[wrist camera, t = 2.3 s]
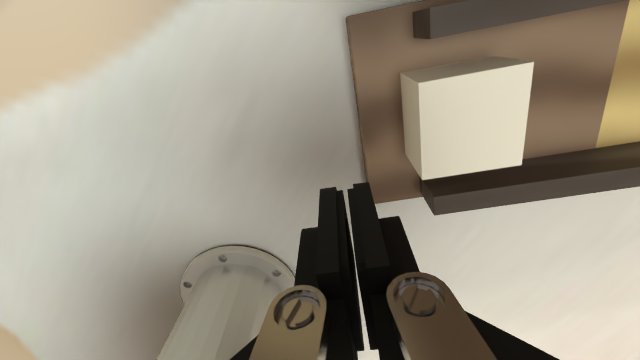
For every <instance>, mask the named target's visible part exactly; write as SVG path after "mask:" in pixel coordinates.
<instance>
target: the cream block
mask: <svg viewBox="0 0 640 360" xmlns="http://www.w3.org/2000/svg"><path fill="white" fill-rule="evenodd" d="M533 67H534V62H532V61H525V60H518V59H511V58H504V57H497V56H488V57H482V58H477V59H472V60H466V61H461V62H456V63H451V64H445V65H440V66H435V67H429V68H424V69H419V70H413V71H408V72H403V73H400V79H401V94H402V110H403V126H404V141H405V154H406V156H407V158H408V159H409V161H410V162H411V164H412V165H413V167H414V168H415V170H416V171H417V173H418V174H419V176H420V178H421V179H422V180H427V179H434V178H440V177H447V176H453V175H460V174H466V173H473V172H479V171H486V170H492V169H499V168H505V167H512V166H519V165H522V159H523V150H524V142H525V134H526V125H527V117H528V109H529V100H530V92H531V84H532V75H533Z"/></svg>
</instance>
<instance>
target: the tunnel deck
mask: <svg viewBox="0 0 640 360" xmlns="http://www.w3.org/2000/svg"><path fill="white" fill-rule="evenodd" d="M346 24H347V32H348V40H349V47H350V55H351V63H352V71H353V78H354V86H355V94H356V101H357V109H358V117H359V124H360V132H361V140H362V148H363V155H364V163H365V171H366V178H367V182H369V184H370V188H371V192H372V196H373V200H374V204H377V203H384V202H390V201H397V200H404V199H411V198H418V197H424V199H425V201H426V202H427V204H428V206H429V207H430V209H431V211H432V212H433V214H434V215H440V214H447V213H455V212H462V211H469V210H476V209H483V208H490V207H497V206H504V205H511V204H518V203H525V202H532V201H539V200H546V199H554V198H561V197H568V196H575V195H582V194H589V193H596V192H603V191H610V190H617V189H624V188H631V187H638V186H640V0H424V1H419V2H414V3H409V4H404V5H400V6H395V7H390V8H385V9H381V10H376V11H371V12H366V13H362V14H357V15H352V16H348V17H346ZM488 56H497V57H504V58H511V59H518V60H525V61H532V62H534V67H533V75H532V84H531V92H530V100H529V109H528V117H527V125H526V134H525V142H524V150H523V159H522V165H519V166H512V167H505V168H499V169H492V170H486V171H479V172H473V173H466V174H460V175H453V176H447V177H440V178H434V179H427V180H422V179H421V178H420V176H419V174H418V173H417V171H416V170H415V168H414V167H413V165H412V164H411V162H410V161H409V159H408V158H407V156H406V154H405V141H404V126H403V110H402V94H401V79H400V73H403V72H408V71H413V70H419V69H424V68H429V67H435V66H440V65H445V64H451V63H456V62H461V61H466V60H472V59H477V58H482V57H488Z"/></svg>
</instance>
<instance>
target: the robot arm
mask: <svg viewBox="0 0 640 360" xmlns="http://www.w3.org/2000/svg"><path fill="white" fill-rule="evenodd" d="M353 187H354V188H353V189H347V190H348V199H349V207H350V216H351V225H352V234H353V242H354V251H355V260H356V268H357V274H358V280H359V286H360V292H361V298H362V304H363V310H364V315H365V321H366V327H367V333H368V339H369V344H370V350H375V349H378V350H379V357H380V360H559V359H557V358H555V357H553V356H551V355H550V354H548V353H546V352H544V351H542V350H540V349H538V348H536V347H534V346H532V345H530V344H528V343H526V342H524V341H522V340H520V339H518V338H517V337H515V336H513V335H511V334H509V333H507V332H505V331H503V330H501V329H499V328H497V327H495V326H493V325H491V324H489V323H487V322H485V321H484V320H482V319H480V318H478V317H476V316H474V315H472V314H470V313H468V312H466V311H464V309H463V308H462V307H461V305H460V304H459V302H458V301H457V299H456V298H455V296H454V295H453V293H452V292H451V290H450V289H449V287H448V286H447V285H446V284H445V283H444V282H443V281H442V280H440V279H438V278H437V277H435V276H433V275H430V274H427V273H422V272H420V271H419V269H418V266H417V263H416V260H415V258H414V255H413V252H412V250H411V247H410V244H409V241H408V239H407V236H406V233H405V231H404V228H403V225H402V223H401V220H400V218H399V216H395V217H388V218H381V219H378V215H377V211H376V208H375V204H374V200H373V196H372V192H371V188H370V184H369V182H365V183H358V184H353ZM180 294H181V298H182V301H183V303H184V307H183V309H182V311H181V313H180V315H179V317H178V319H177V321H176V323H175V325H174V327H173V329H172V330H171V332H170V334H169V336H168V338H167V340H166V342H165V344H164V346H163V348H162V350H161V352H160V354H159V356H158V358H157V359H156V360H358V356H357V351H364V342H363V333H362V324H361V315H360V306H359V297H358V288H357V279H356V270H355V261H354V253H353V247H352V241H351V236H350V230H349V224H348V218H347V213H346V207H345V201H344V195H343V190H340V191H337V190H336V187H332V188H325V189H320V198H319V217H318V227H315V228H307V229H302V231H301V237H300V245H299V252H298V260H297V267H296V275H295V277H294V276H293V274H292V272H291V271H290V270H289V269H288V268H287V267H286V266H285V265H284V264H283V263H282V262H281V261H279V260H278V259H277V258H275V257H273V256H271V255H270V254H268V253H266V252H263V251H260V250H257V249H254V248H249V247H244V246H224V247H218V248H214V249H211V250H208V251H206V252H204V253H202V254H200V255H199V256H197V257H196V258H195V259H194V260H192V262H191V263H190V264H189V266H188V267H187V269H186V270H185V272H184V274H183V276H182V279H181V282H180Z"/></svg>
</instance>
